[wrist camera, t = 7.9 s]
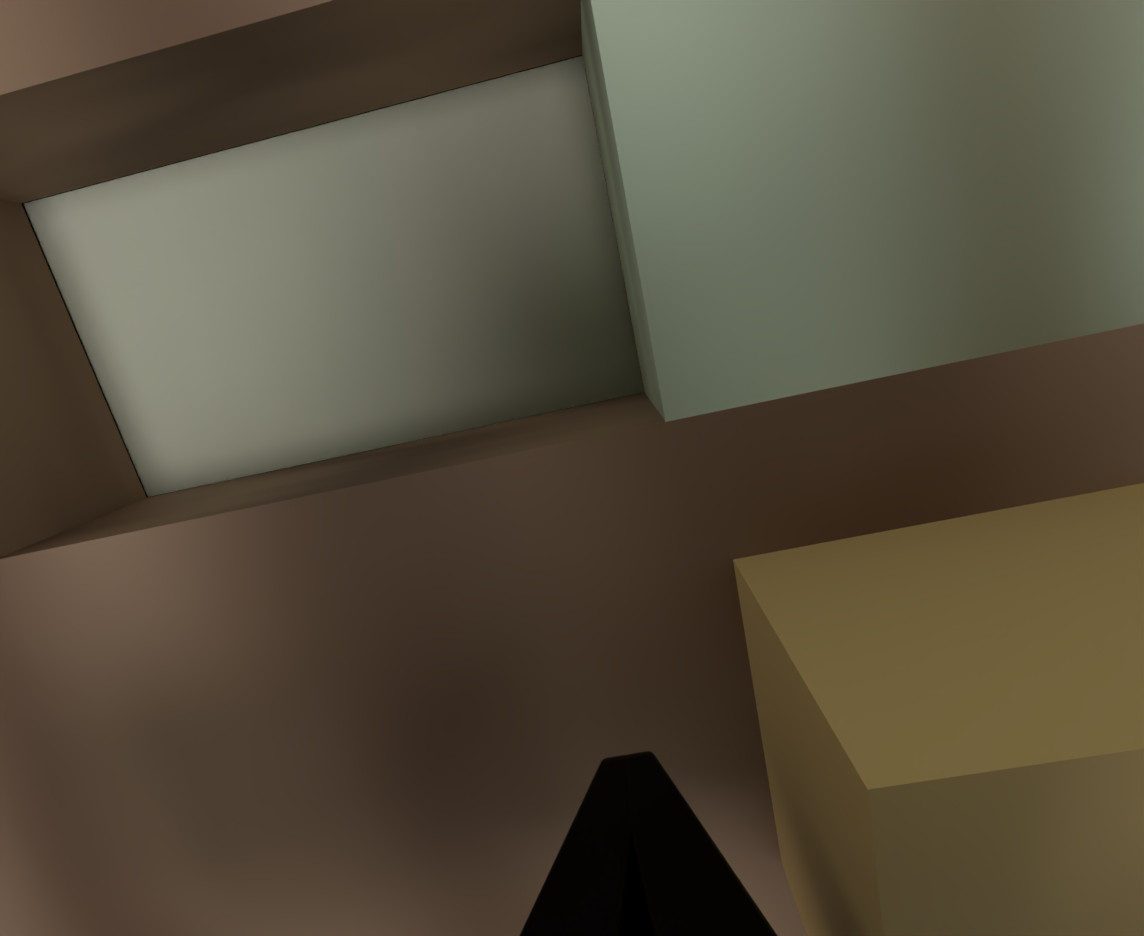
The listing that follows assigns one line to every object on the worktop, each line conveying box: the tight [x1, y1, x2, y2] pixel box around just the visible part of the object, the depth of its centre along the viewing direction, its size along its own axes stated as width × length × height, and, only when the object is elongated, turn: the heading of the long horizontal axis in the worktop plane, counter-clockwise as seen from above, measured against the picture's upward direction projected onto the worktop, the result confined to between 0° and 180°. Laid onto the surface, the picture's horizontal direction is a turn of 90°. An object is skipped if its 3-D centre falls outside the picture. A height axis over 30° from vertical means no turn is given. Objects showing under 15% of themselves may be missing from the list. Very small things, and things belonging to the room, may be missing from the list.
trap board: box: [0, 0, 1144, 936], centre depth 11 cm, size 26×24×3 cm
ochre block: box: [733, 483, 1144, 936], centre depth 6 cm, size 6×6×4 cm
